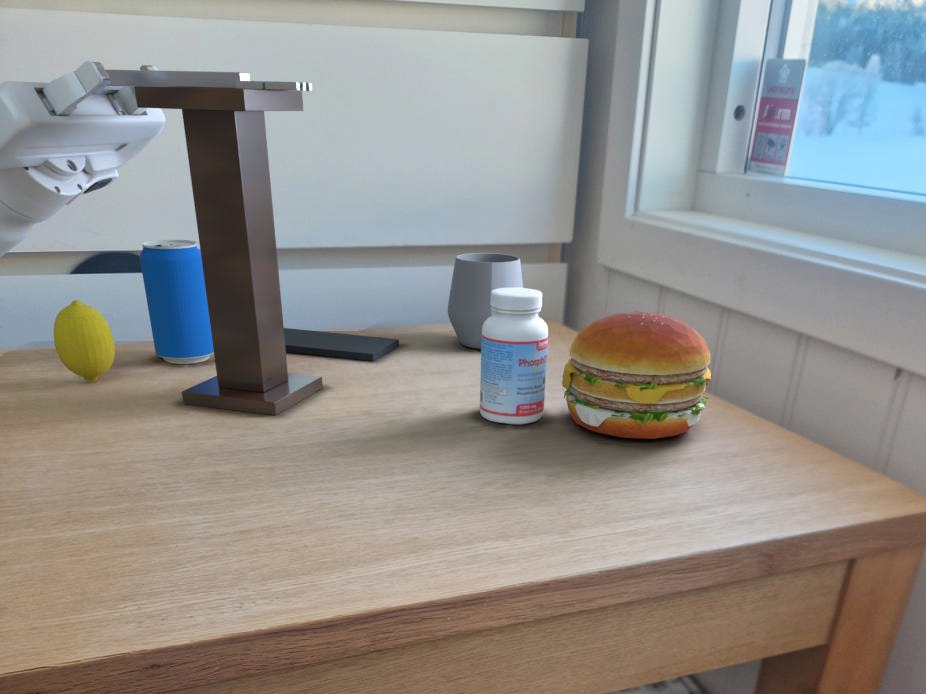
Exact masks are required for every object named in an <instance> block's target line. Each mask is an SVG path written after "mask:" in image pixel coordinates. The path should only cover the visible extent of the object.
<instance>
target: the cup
mask: <svg viewBox="0 0 926 694" xmlns="http://www.w3.org/2000/svg"><path fill="white" fill-rule="evenodd" d="M450 283H451V284H450V290H449V297H448V301H447V309H446V311H447V316H448V318H449V321H450V323H451V326H452V329H453V330H454V332H455V335H456V337H457V339H458V341H459V343H460V344H461V345H463V346H465V347H466V348H470V349H476V350H481V343H482V327H483V324H484V322H485V321H486V320H487V319H488V318H489V317H491V316H493V310H492V309H491V305H490V301H491V291H492V290H494V289H499V288H524V282H523V273H522V265H521V258H520V257H519V256H517V255H513V254H507V253H500V252H499V253H498V252H470V253H463V254H458V255H456V256H455V259H454V265H453V271H452V278H451V282H450Z"/></svg>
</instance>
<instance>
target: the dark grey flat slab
mask: <svg viewBox="0 0 926 694" xmlns="http://www.w3.org/2000/svg"><path fill="white" fill-rule="evenodd" d="M284 337H285V349H286V353H292V354H293V353H294V354H303V355H305V354H306V355H314V356H322V357H331V358H340V359H341V358H342V359H352V360H360V361H370V362H374V361H376V360H377V359H379V358H381V357H382V356H384V355H386V354H388V353H389V352H391V351H393V350H394V349H396V348H397V347H399V346H400V339H399V338H391V337H382V336H381V337H380V336H371V335H361V334H352V333H350V334H349V333H340V332H331V331H320V330H319V331H318V330H309V329H300V328H289V327H284Z"/></svg>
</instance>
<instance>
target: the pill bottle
mask: <svg viewBox="0 0 926 694" xmlns="http://www.w3.org/2000/svg"><path fill="white" fill-rule="evenodd" d="M490 305H491V309H492V310H493V316H491V317H489V318H488V319H487V320H486V321H485V322H484V324H483V327H482V343H481V349H480V384H479V386H480V387H479V390H480V391H479V413H480V415H481V417H482V418H484V419H486V420H488V421H490V422H493V423H499V424H505V425H506V424H507V425H527V424H530V423H531V424H532V423H534V422H537V421H539V420H541V418H542V417H543V415H544V411H545V409H544V408H545V396H546V395H545V394H546V377H547V361H548V346H549V345H548V344H549V328H548V324H547V323H546V321H545V320H544V319H543V318H541V317H539V312H541V311H542V307H543V292H542V291H541V290H538V289H534V288H528V287H527V288H526V287H523V288H499V289H494V290H492V291H491V301H490Z"/></svg>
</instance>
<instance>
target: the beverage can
mask: <svg viewBox="0 0 926 694" xmlns="http://www.w3.org/2000/svg"><path fill="white" fill-rule="evenodd" d="M141 246H142V250H141V252H140V254H139V263H140V267H141V273H142V279H143V286H144V291H145V299H146V303H147V310H148V316H149V321H150V322H149V323H150V327H151V333H152V339H153V345H154V353H155V355H156V356H157V357H159V358H162V360H163V362H166V363H169V364H175V365H187V364H188V365H191V364H198V363H202V362H206V361H208V360H209V359H210V357H211V355H214V349H213V342H212V334H211V327H210V319H209V311H208V304H207V296H206V289H205V281H204V274H203V266H202V258H201V251H200V248H198V242H196V240H195V241H194V240H190V239H189V240H188V239H155V240H154V239H153V240H147V241H143V242H142V243H141Z"/></svg>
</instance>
